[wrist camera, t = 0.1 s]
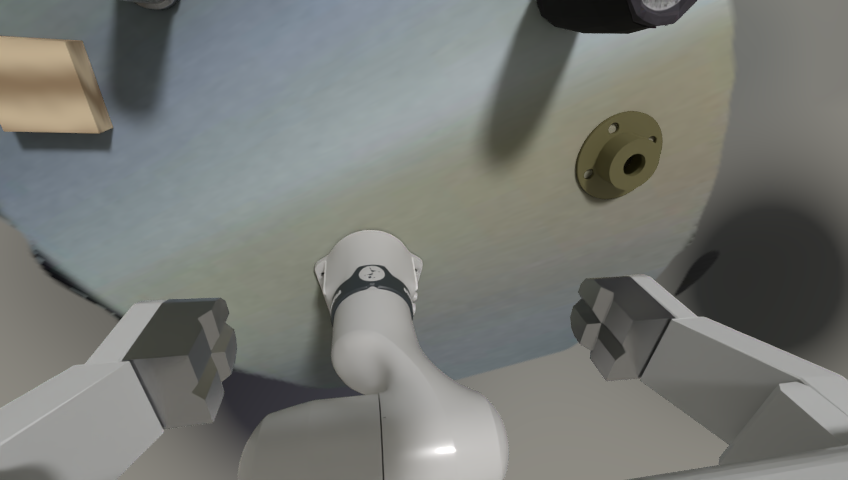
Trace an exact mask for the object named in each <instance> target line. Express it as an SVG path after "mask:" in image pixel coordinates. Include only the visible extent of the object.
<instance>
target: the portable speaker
mask: <svg viewBox="0 0 848 480" xmlns="http://www.w3.org/2000/svg"><path fill="white" fill-rule="evenodd" d="M696 1H697V0H537V4H538V7H539V9H540V12H541V15H542V16H543V17H544V18H545V19H547V20H548V21H549V22H550V23H551V24H553V25H554V26H556V27H560V28H564V29H568V30H569V31H570V30H572V31H576V32H581V33H619V34H629V33H632V32H636V31H640V30H644V29H647V28H656V27H655V26H660V25H665V26H666V25H667V24H674V23H675V22H676V21H677V20H678V19H679V18H680V17H681V16H682V15H683V14H684V13H685V12H686V11H687V10H688V9H689V8H690V7H691V6H692V5H693V4H694V3H695V2H696Z"/></svg>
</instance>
